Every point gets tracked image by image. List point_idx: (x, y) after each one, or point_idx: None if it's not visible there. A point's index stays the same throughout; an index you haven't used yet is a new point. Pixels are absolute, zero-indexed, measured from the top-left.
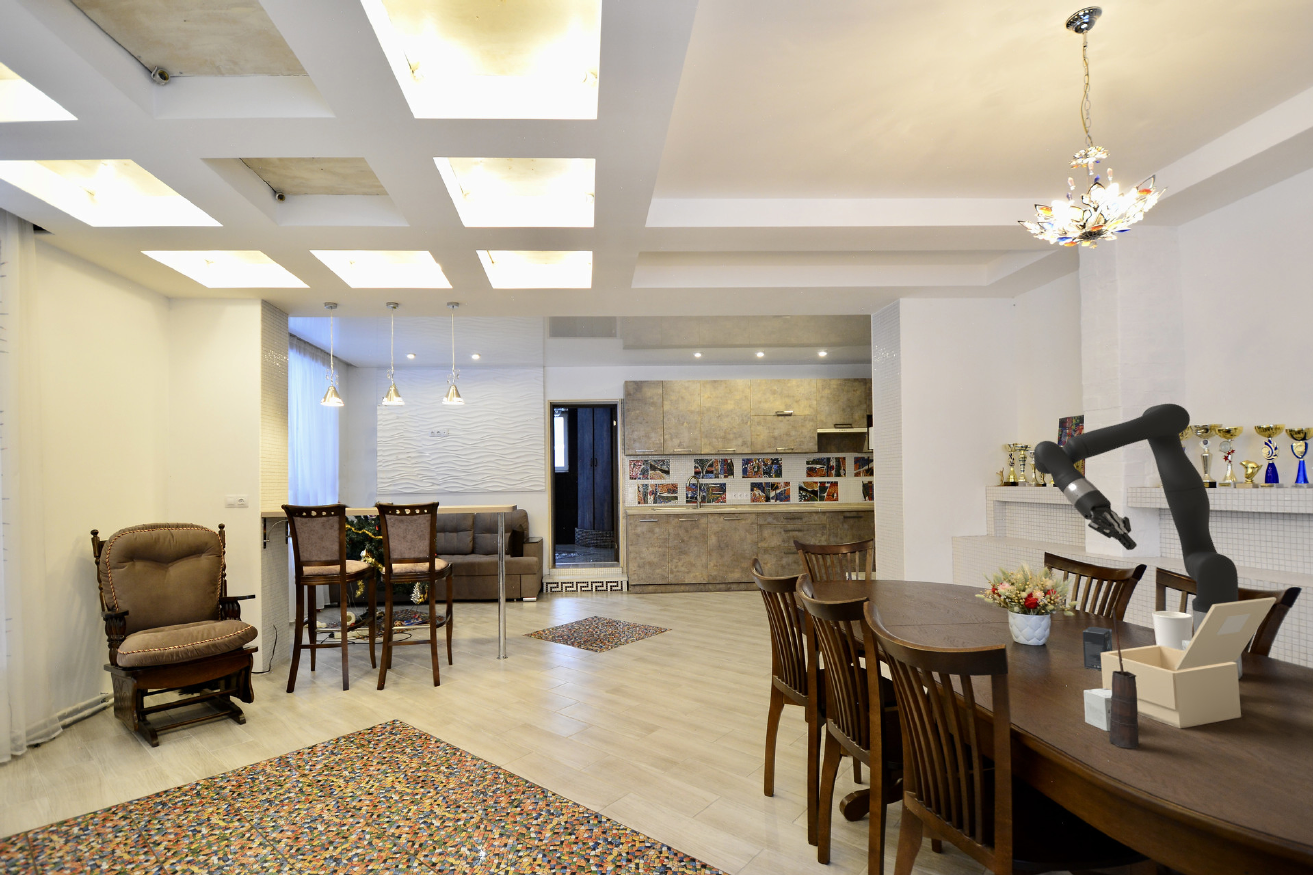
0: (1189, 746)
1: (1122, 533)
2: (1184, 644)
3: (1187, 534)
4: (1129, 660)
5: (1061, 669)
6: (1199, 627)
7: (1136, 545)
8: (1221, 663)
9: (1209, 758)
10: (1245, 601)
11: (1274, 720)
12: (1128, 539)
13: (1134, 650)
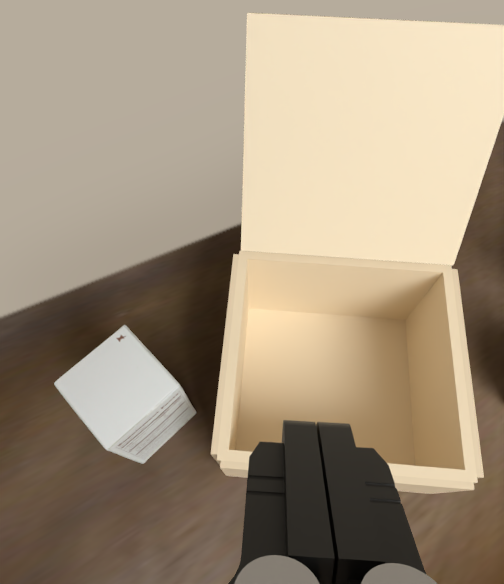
0: (470, 264)
1: (400, 564)
2: (133, 429)
3: None
4: (463, 385)
5: None
6: (499, 124)
7: (288, 421)
8: (245, 282)
9: (484, 227)
10: (386, 19)
11: (209, 271)
12: (355, 474)
13: None
